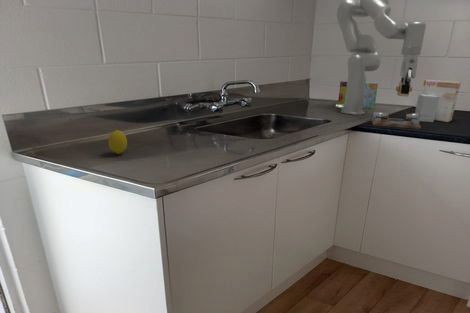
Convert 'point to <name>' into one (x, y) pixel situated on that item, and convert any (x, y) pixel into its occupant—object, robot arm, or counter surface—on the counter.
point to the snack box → (368, 95)
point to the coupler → (398, 88)
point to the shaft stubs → (394, 121)
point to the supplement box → (427, 107)
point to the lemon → (117, 141)
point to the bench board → (386, 123)
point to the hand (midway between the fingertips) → (403, 92)
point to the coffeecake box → (443, 97)
